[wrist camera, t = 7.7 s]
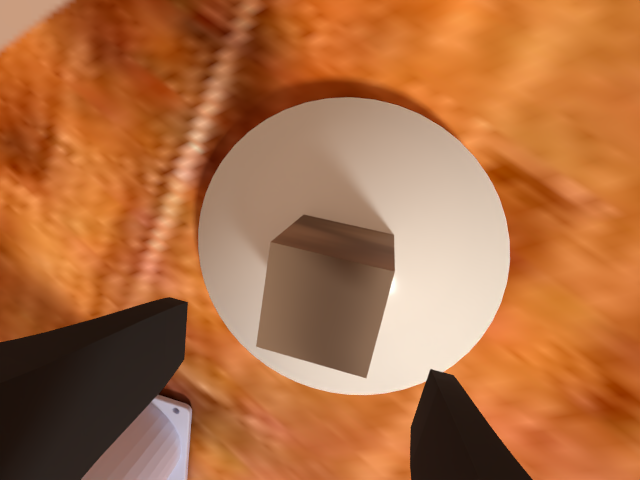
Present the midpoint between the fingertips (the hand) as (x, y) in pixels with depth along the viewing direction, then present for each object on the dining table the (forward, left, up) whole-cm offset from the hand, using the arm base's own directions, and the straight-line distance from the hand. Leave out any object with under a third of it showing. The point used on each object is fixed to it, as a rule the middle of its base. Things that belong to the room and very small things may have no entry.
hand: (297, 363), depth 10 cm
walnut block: (0, 0, -8) cm, 8 cm away
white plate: (0, 0, -9) cm, 9 cm away
